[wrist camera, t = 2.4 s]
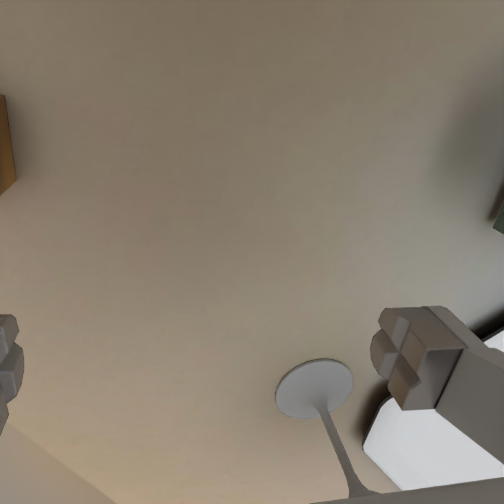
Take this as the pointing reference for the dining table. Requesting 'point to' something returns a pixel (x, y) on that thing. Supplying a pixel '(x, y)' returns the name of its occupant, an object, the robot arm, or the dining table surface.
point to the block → (5, 151)
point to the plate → (427, 445)
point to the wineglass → (321, 405)
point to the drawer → (500, 221)
